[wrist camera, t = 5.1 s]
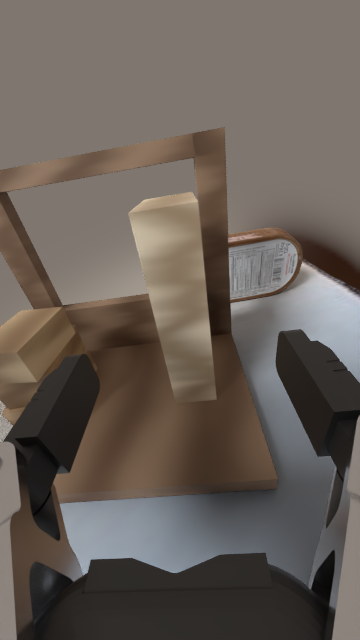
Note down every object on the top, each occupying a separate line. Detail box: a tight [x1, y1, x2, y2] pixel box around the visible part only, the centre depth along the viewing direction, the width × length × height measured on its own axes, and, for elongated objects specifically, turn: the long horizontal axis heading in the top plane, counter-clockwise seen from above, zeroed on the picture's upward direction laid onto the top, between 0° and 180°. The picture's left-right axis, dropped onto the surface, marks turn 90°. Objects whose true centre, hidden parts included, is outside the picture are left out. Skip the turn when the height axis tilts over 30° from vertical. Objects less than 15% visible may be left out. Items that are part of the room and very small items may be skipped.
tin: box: [228, 228, 303, 303], centre depth 29 cm, size 15×3×8 cm, turn 95°
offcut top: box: [0, 307, 75, 384], centre depth 16 cm, size 4×5×2 cm
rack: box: [0, 127, 278, 503], centre depth 15 cm, size 18×14×17 cm
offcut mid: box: [0, 325, 85, 410], centre depth 17 cm, size 4×6×2 cm
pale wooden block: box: [128, 192, 217, 404], centre depth 15 cm, size 3×6×13 cm, turn 0°
